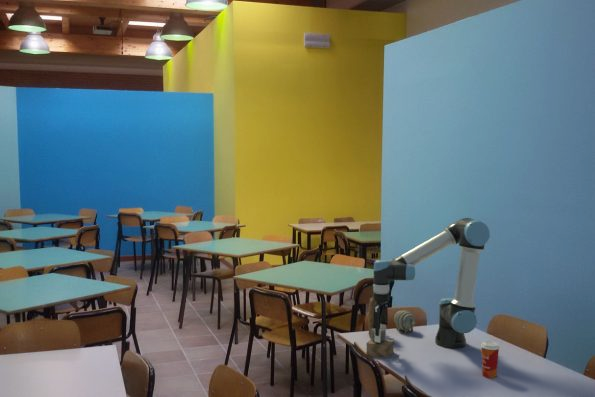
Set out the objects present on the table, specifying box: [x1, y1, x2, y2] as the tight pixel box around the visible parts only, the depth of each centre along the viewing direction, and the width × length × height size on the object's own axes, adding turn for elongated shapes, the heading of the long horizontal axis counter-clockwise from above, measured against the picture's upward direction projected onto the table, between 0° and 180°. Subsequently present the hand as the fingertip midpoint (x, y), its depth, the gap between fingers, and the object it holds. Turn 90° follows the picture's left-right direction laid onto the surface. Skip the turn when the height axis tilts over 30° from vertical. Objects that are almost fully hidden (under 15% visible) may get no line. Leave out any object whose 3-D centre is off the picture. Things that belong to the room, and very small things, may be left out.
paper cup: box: [480, 341, 500, 379], centre depth 242 cm, size 8×8×14 cm
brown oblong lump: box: [368, 296, 377, 337], centre depth 298 cm, size 11×8×20 cm
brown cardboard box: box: [366, 338, 394, 359], centre depth 270 cm, size 10×10×6 cm
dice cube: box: [369, 328, 386, 341], centre depth 271 cm, size 5×5×5 cm
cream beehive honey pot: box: [393, 310, 416, 334], centre depth 307 cm, size 11×17×11 cm, turn 32°
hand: (380, 339), depth 270 cm, fingers closed on dice cube, 7 cm apart
